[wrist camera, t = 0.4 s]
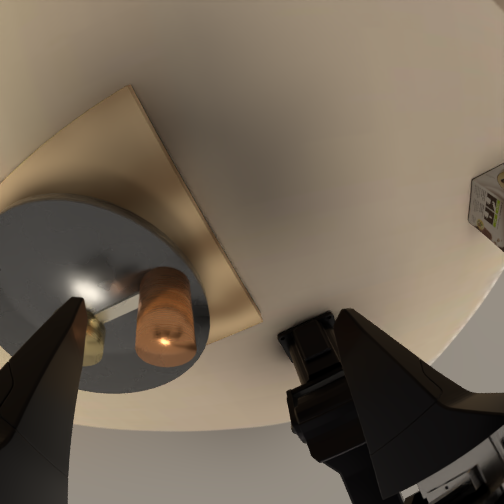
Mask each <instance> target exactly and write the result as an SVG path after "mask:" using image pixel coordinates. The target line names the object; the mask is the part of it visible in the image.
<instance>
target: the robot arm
mask: <svg viewBox="0 0 504 504" xmlns="http://www.w3.org/2000/svg"><path fill="white" fill-rule="evenodd" d="M87 323H88V317H87V311H86V305H85V300H84V298H82V297H75V296H73V297H71V298H69V299H68V300H67V301H66V302H65V303H64V304H63V305H62V306H61V307H60V308H59V309H58V310H57V311H56V312H55V313H54V314H53V315H52V316H51V317H50V318H49V319H48V320H47V321H46V322H45V323H44V324H43V325H42V326H41V327H40V328H39V329H38V330H37V331H36V332H35V333H34V334H33V335H32V336H31V337H30V338H29V339H28V340H27V341H26V342H25V343H24V344H23V346H22V347H21V348H20V349H19V350H18V351H17V352H16V353H15V354H14V355H13V356H12V357H11V359H10V360H9V362H7V363H6V364H5V365H4V366H3V367H2V368H1V370H0V504H68V471H69V456H70V445H71V436H72V427H73V419H74V412H75V406H76V399H77V393H78V388H79V382H80V377H81V372H82V366H83V358H84V348H85V339H86V331H87ZM278 340H279V342H280V344H281V345H282V347H283V349H284V350H285V352H286V353H287V355H288V357H289V358H290V360H291V362H292V363H294V366H295V369H296V371H297V374H298V377H299V379H300V382H301V386H299V387H296V388H294V389H292V390H291V389H290V390H288V391H286V393H287V403H288V408H289V414H290V419H291V429H292V432H293V433H294V434H297V435H298V436H299V438H300V439H301V441H302V442H303V443H307V445H308V448H309V451H310V454H311V456H312V457H313V458H314V459H316V460H317V461H318V462H319V463H322V462H323V463H324V464H326V465H327V466H329V467H330V468H332V469H333V470H335V471H336V472H338V473H339V474H340V475H341V477H342V480H343V482H344V484H345V487H346V490H347V492H348V494H349V497H350V499H351V501H352V504H504V393H473V392H470V391H467V390H466V389H464V388H462V387H461V386H459V385H457V384H456V383H454V382H453V381H451V380H450V379H448V378H447V377H445V376H444V375H442V374H441V373H439V372H438V371H436V370H435V369H433V368H432V367H431V366H429V365H428V364H427V363H425V362H424V361H423V360H421V359H420V358H419V357H417V356H416V355H415V354H413V353H412V352H411V351H409V350H408V349H407V348H405V347H404V346H403V345H401V344H400V343H399V342H397V341H396V340H394V339H393V338H392V337H390V336H389V335H388V334H386V333H385V332H384V331H382V330H381V329H380V328H378V327H377V326H376V325H374V324H373V323H372V322H370V321H369V320H367V319H366V318H365V317H363V316H362V315H361V314H359V313H358V312H357V311H355V310H354V309H351V308H346V309H342V310H341V311H340V313H339V315H338V317H337V319H336V321H335V319H334V316H333V314H332V312H327V313H325V314H323V315H321V316H318V317H316V318H314V319H312V320H310V321H308V322H305V323H303V324H301V325H299V326H297V327H294V328H292V329H290V330H288V331H285V332H283V333H281V334H279V335H278ZM415 484H417V485H418V487H419V490H420V491H418V492H416V493H414V494H413V495H411V496H409V497H407V498H405V501H404V499H403V496H402V494H401V491H403V490H405V489H407V488H409V487H411V486H413V485H415Z"/></svg>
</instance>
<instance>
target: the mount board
mask: <svg viewBox="0 0 504 504" xmlns="http://www.w3.org/2000/svg"><path fill="white" fill-rule="evenodd" d="M48 193H72V194H78V195H85V196H91V197H94V198H98V199H101V200H104V201H108V202H111V203H114V204H116V205H118V206H120V207H123V208H125V209H127V210H129V211H132V212H133V213H135V214H137V215H138V216H140V217H142V218H144V219H145V220H147V221H149V222H150V223H152V224H153V225H154V226H156V227H157V228H158V229H159V230H161V231H162V232H163V233H165V234H166V235H167V236H168V237H169V238H170V239H171V240H172V241H173V242H174V243H175V244H176V245H177V246H178V247H180V248H181V250H182V251H183V252H184V254H185V255H186V256H187V257H188V259H189V260H190V261H191V262H192V264H193V266H194V268H195V269H196V271H197V273H198V274H199V276H200V278H201V281H202V283H203V286H204V289H205V292H206V297H207V301H208V307H209V314H210V331H209V337H208V341H207V343H206V345H208V344H210V343H213V342H215V341H218V340H220V339H223V338H225V337H228V336H230V335H233V334H235V333H237V332H240V331H242V330H245V329H247V328H249V327H252V326H254V325H256V324H259V323H261V322H263V320H262V317H261V314H260V312H259V310H258V308H257V307H256V305H255V303H254V302H253V300H252V298H251V297H250V295H249V293H248V292H247V290H246V288H245V287H244V285H243V283H242V282H241V280H240V278H239V277H238V275H237V273H236V271H235V270H234V268H233V266H232V265H231V263H230V261H229V260H228V258H227V256H226V255H225V253H224V251H223V249H222V248H221V246H220V244H219V243H218V241H217V239H216V237H215V236H214V234H213V232H212V230H211V229H210V227H209V225H208V224H207V222H206V220H205V218H204V217H203V215H202V213H201V211H200V210H199V208H198V206H197V204H196V203H195V201H194V199H193V197H192V196H191V194H190V192H189V190H188V189H187V187H186V185H185V183H184V181H183V180H182V178H181V176H180V174H179V173H178V171H177V169H176V167H175V165H174V164H173V162H172V160H171V158H170V156H169V155H168V153H167V151H166V149H165V147H164V146H163V144H162V142H161V140H160V138H159V136H158V135H157V133H156V131H155V129H154V127H153V125H152V124H151V122H150V120H149V118H148V116H147V114H146V113H145V111H144V109H143V107H142V105H141V103H140V101H139V100H138V98H137V96H136V94H135V92H134V90H133V88H132V86H131V85H127V86H125V87H124V88H122V89H120V90H119V91H117V92H115V93H114V94H112V95H111V96H109V97H107V98H106V99H104V100H103V101H101V102H100V103H98V104H97V105H95V106H94V107H92V108H91V109H89V110H88V111H86V112H85V113H83V114H82V115H81V116H79V117H78V118H76V119H75V120H74V121H72V122H71V123H70V124H68V125H67V126H66V127H64V128H63V129H62V130H60V131H59V132H58V133H57V134H55V135H54V136H53V137H51V138H50V139H49V140H48V141H47V142H45V143H44V144H43V145H42V146H41V147H39V148H38V149H37V150H36V151H35V152H34V153H32V154H31V155H30V156H29V157H28V158H27V159H26V160H24V161H23V162H22V163H21V164H20V165H19V166H18V167H17V168H16V169H15V170H14V171H13V172H12V173H11V174H10V175H9V176H8V177H7V178H5V179H4V180H3V181H2V182H1V184H0V212H1V211H2V210H3V209H5V208H6V207H8V206H10V205H11V204H13V203H15V202H17V201H19V200H22V199H25V198H28V197H31V196H34V195H41V194H48Z"/></svg>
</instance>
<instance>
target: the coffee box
mask: <svg viewBox="0 0 504 504" xmlns="http://www.w3.org/2000/svg"><path fill="white" fill-rule="evenodd" d="M468 221H469V223H471V224H472V225H473V226H474V227H476V228H477V229H478V230H479V231H480V232H482V233H483V234H484V235H485V236H486V237H487V238H489V239H490V240H491V241H492V242H493V243H494V244H495V245H496V246H498V247H499V248H500V249H501V250H502V251H503V252H504V164H502V165H500V166H498V167H496V168H494V169H493V170H491V171H489V172H487V173H485V174H483V175H481V176H479V177H477V178H475V179H473V181H472V192H471V202H470V211H469V219H468Z"/></svg>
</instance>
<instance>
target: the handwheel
mask: <svg viewBox="0 0 504 504" xmlns="http://www.w3.org/2000/svg"><path fill="white" fill-rule="evenodd" d="M73 296H75V297H82V298H84V300H85V305H86V311H87V317H88V323H87V331H86V339H85V348H84V358H83V366H82V372H81V377H80V382H79V388H78V389H79V390H84V391H89V392H96V393H110V394H120V393H132V392H139V391H144V390H148V389H152V388H155V387H158V386H161V385H164V384H166V383H168V382H170V381H172V380H174V379H176V378H177V377H179V376H180V375H182V374H183V373H185V372H186V371H187V370H188V369H189V368H190V367H192V366H193V364H194V363H195V362H196V361H197V360H198V359H199V357H200V355H201V354H202V352H203V350H204V349H205V346H206V343H207V341H208V337H209V331H210V314H209V307H208V301H207V297H206V292H205V289H204V286H203V283H202V281H201V278H200V276H199V274H198V273H197V271H196V269H195V268H194V266H193V264H192V262H191V261H190V260H189V259H188V257H187V256H186V255H185V254H184V252H183V251H182V250H181V248H180V247H178V246H177V245H176V244H175V243H174V242H173V241H172V240H171V239H170V238H169V237H168V236H167V235H166V234H165V233H163V232H162V231H161V230H159V229H158V228H157V227H156V226H154V225H153V224H152V223H150V222H149V221H147V220H145V219H144V218H142V217H140V216H138V215H137V214H135V213H133V212H132V211H129V210H127V209H125V208H123V207H120V206H118V205H116V204H114V203H111V202H108V201H104V200H101V199H98V198H94V197H91V196H85V195H78V194H72V193H48V194H41V195H34V196H31V197H28V198H25V199H22V200H19V201H17V202H15V203H13V204H11V205H10V206H8V207H6V208H5V209H3V210H2V211H1V212H0V346H1V347H2V348H3V349H4V350H5V351H6V352H8V353H9V354H10V355H11V356H13V355H14V354H15V353H16V352H17V351H18V350H19V349H20V348H21V347H22V346H23V344H24V343H25V342H26V341H27V340H28V339H29V338H30V337H31V336H32V335H33V334H34V333H35V332H36V331H37V330H38V329H39V328H40V327H41V326H42V325H43V324H44V323H45V322H46V321H47V320H48V319H49V318H50V317H51V316H52V315H53V314H54V313H55V312H56V311H57V310H58V309H59V308H60V307H61V306H62V305H63V304H64V303H65V302H66V301H67V300H68V299H69V298H71V297H73Z"/></svg>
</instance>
